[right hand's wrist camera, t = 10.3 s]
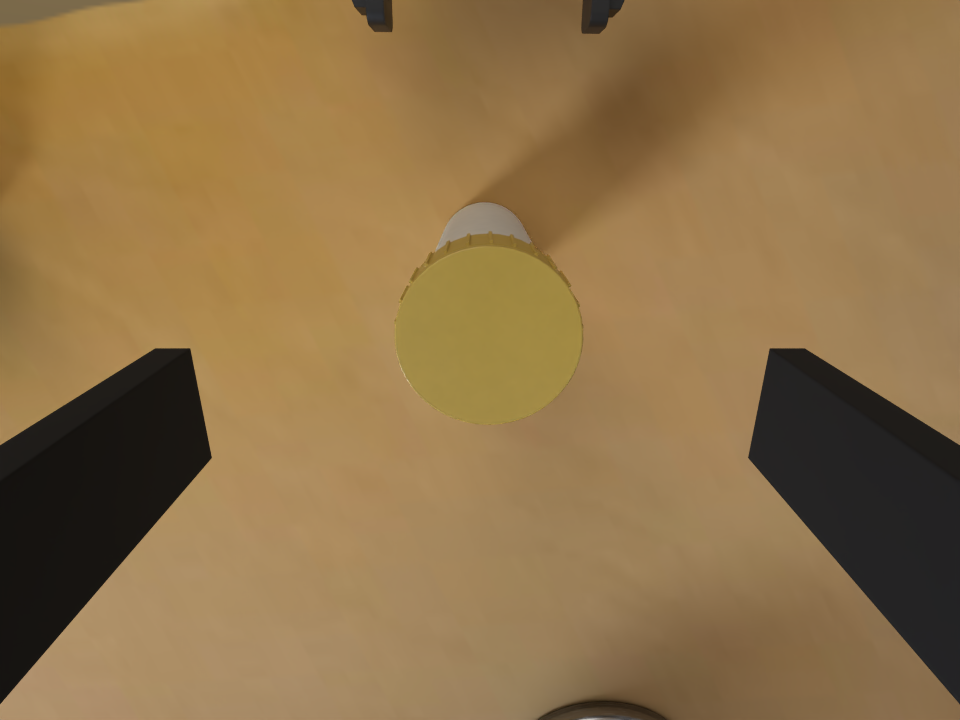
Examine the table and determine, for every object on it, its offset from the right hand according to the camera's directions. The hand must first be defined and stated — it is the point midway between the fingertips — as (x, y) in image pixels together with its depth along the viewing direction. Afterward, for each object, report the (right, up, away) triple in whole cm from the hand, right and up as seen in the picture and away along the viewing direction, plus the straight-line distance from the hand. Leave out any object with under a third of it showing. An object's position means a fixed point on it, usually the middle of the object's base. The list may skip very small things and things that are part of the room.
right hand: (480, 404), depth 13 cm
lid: (0, +2, +4) cm, 5 cm away
